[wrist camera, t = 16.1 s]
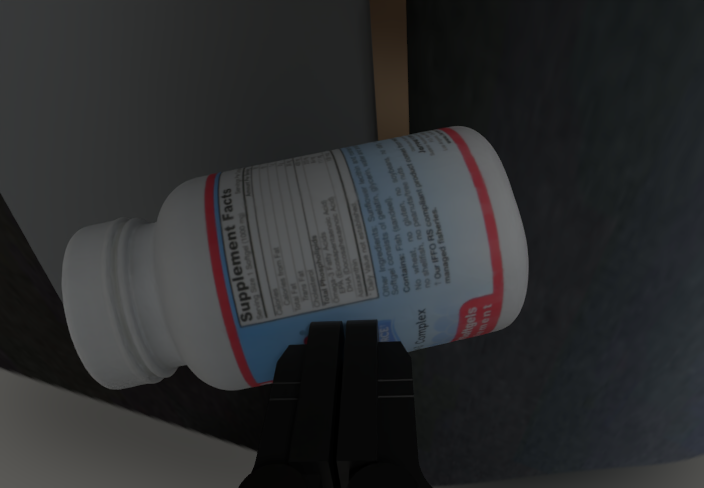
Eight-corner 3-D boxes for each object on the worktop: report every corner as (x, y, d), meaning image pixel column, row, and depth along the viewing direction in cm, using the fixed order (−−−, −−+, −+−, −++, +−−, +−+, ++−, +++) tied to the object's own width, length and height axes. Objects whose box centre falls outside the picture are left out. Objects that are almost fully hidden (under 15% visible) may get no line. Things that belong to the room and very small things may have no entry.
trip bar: (370, -15, 15) (368, -7, 14) (404, -18, 15) (405, -10, 14) (388, 294, 22) (389, 313, 21) (412, 293, 22) (413, 312, 21)
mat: (-96, -9, 16) (-111, -5, 15) (392, -57, 14) (392, -54, 14) (83, 320, 24) (77, 329, 23) (405, 310, 22) (406, 320, 22)
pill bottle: (483, 325, 18) (159, 400, 17) (440, 159, 18) (129, 223, 18) (563, 329, 12) (64, 447, 11) (495, 82, 12) (24, 175, 12)
